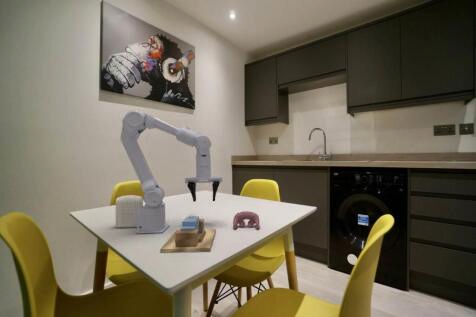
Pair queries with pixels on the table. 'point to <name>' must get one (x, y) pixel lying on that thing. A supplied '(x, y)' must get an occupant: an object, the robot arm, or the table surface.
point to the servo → (191, 223)
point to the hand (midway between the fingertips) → (204, 200)
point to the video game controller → (243, 216)
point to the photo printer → (127, 210)
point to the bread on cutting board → (190, 240)
